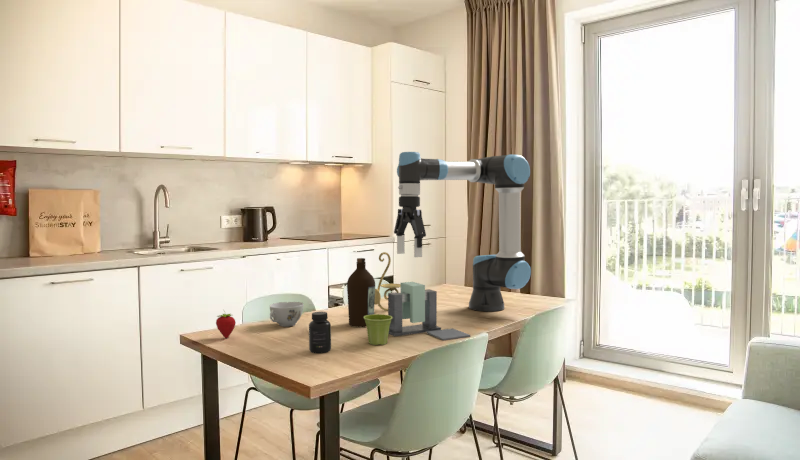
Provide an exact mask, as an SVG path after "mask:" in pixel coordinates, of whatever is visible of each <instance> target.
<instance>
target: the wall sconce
mask: <svg viewBox="0 0 800 460" xmlns="http://www.w3.org/2000/svg"><path fill="white" fill-rule="evenodd" d="M383 255H386V256H387V259H388V262H387V265H386V267H385V269H384V271H383V273H382V274H381V276H380V279H379V281H378V285H377V288H375V304H374V306H376V305H378V307H379V308H380V309H381V310H382V311H384V312H385V311H386V312H388V308H385V307H383V306H382V304H381V300H382V299H381V298H382V296H381V292H380V290H381V288H384V289H386V290H385V291H384V293H383V297H384V299H385V300H386V301H388V296H387V295H388V293H389V292H390V293H393V291H395V292H396V293H400V292H399V288H401V283H384V284H382V282H383V280H384V277H385V275H386V274H387V271H388V270H389V267H390V266H391V262H392V259H391V255H390V254H389V253H388V252H386V251H383V252H381V253H380V254H379V256H378V260H379V261H380V262H381V263H383V262H384V261H385V258H382V256H383Z"/></svg>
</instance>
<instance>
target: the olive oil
mask: <svg viewBox="0 0 800 460" xmlns="http://www.w3.org/2000/svg"><path fill="white" fill-rule="evenodd" d="M355 264H356V268H355V270H354V271H353V272H352V273H351V274H350V276H349V277H348V279H347V282H346V291H347V307H348V309H347V311H348V325H349V326H350V327H353V328H354V327H356V328H367V327H366V323H365V319H364V316H366V315H372V314H375V289H376V281H375V278H374V276H373V275H372V273H370V272H369V270H368V269H366V266H367V265H366V258H364V257H358V258H356V263H355Z"/></svg>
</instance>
